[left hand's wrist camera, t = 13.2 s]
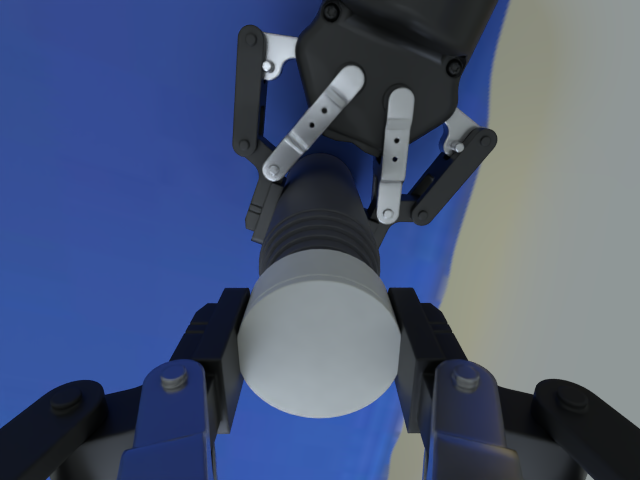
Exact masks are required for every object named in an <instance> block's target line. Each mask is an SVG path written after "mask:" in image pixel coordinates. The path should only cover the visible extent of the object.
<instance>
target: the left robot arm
mask: <svg viewBox="0 0 640 480" xmlns="http://www.w3.org/2000/svg"><path fill="white" fill-rule="evenodd" d="M388 296H389V299H390V302H391V305H392V308H393V311H394V314H395V317H396V320H397V323H398V326H399V329H400V332H401V340H400V351H399V362H398V372H397V375H396V377H395V379H394V380H395V384H396V388H397V392H398V396H399V400H400V404H401V408H402V412H403V416H404V420H405V424H406V428H407V432H408V433H421V437H422V440H423V444H424V447H425V451H424V461H423V475H422V480H585V479H586V476H587V474H589V475H590V476H591V477H592V478H593V479H594V480H640V429H639V428H638V427H637V426H635V425H634V424H633V423H632V422H630V421H629V420H628V419H626V418H625V417H624V416H622V415H621V414H620V413H619V412H617V411H616V410H615V409H613V408H612V407H611V406H609V405H608V404H607V403H605V402H604V401H603V400H602V399H600V398H599V397H598V396H596V395H595V394H594V393H592V392H591V391H589V390H588V389H586V388H584V387H582V386H580V385H578V384H575V383H572V382H569V381H566V380H560V379H547V380H543V381H541V382H539V383H538V384H537V385H536V388H535V391H534V395H532V394H528V393H524V392H520V391H515V390H511V389H507V388H503V387H500V386H497V382H496V380H495V378H494V376H493V375H492V374H491V373H490V372H489V371H488V370H487V369H485V368H484V367H482V366H480V365H478V364H476V363H474V362H471V361H468V359H467V358H466V356H465V354H464V352H463V350H462V348H461V346H460V345H459V343H458V341H457V339H456V337H455V335H454V334H453V333H452V330H451V328H450V326H449V325H448V324H447V321H446V319H445V317H444V315H443V313H442V312H441V311H440V310H439V309H437V308H436V307H435V306H433V305H432V304H431V303H420V301H419V299H418V297H417V295H416V293H415V291H414V289H413V288H389V290H388ZM249 298H250V290H249V288H225V289H224V291H223V293H222V295H221V297H220V299H219V301H218V303H207V304H206V305H205V306H204V307H202V308H201V309H200V310H198V311H197V312H196V313H195V315H194V317H193V319H192V321H191V322H190V325H189V326H188V328H187V330H186V333H185V334H184V335H183V337H182V339H181V340H180V342H179V344H178V346H177V348H176V350H175V351H174V353H173V355H172V357H171V359H170V360H169V362H166V363H164V364H162V365H160V366H158V367H156V368H155V369H153V370H152V371H151V372H150V373H149V374H148V375H147V376H146V378H145V379H144V382H143V385H141V386H139V387H136V388H133V389H129V390H124V391H120V392H116V393H111V394H107V395H105V394H104V390H103V387H102V386H101V384H99V383H98V382H95V381H91V380H79V381H74V382H70V383H66V384H64V385H61V386H59V387H57V388H55V389H53V390H51V391H49V392H48V393H46V394H45V395H44V396H42V397H41V398H40V399H38V400H37V401H36V402H34V403H33V404H32V405H31V406H29V407H28V408H27V409H25V410H24V411H23V412H21V413H20V414H19V415H18V416H16V417H15V418H14V419H12V420H11V421H10V422H8V423H7V424H6V425H5V426H3V427H2V428H1V429H0V480H46V479H47V478H48V477H49V476H50V479H51V480H218V475H217V461H216V451H215V444H214V442H215V439H216V435H217V434H230V430H231V426H232V423H233V419H234V415H235V411H236V407H237V403H238V400H239V396H240V392H241V388H242V384H243V380H244V378H243V376H242V374H241V372H240V364H239V353H238V342H237V335H238V331H239V328H240V325H241V322H242V319H243V316H244V313H245V310H246V307H247V304H248V301H249Z"/></svg>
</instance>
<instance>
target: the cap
mask: <svg viewBox="0 0 640 480" xmlns="http://www.w3.org/2000/svg"><path fill="white" fill-rule="evenodd" d="M400 340H401V332H400V329H399V326H398V323H397V320H396V317H395V314H394V311H393V308H392V305H391V302H390V299H389V296H388V293H387V290H386V288H385V286H384V284H383V282H382V281H381V279H380V278H379V276H378V275H377V274H376V273H375V272H374V271H373V270H372V269H371V268H370V267H369V266H368V265H367V264H365V263H364V262H362V261H361V260H359V259H357V258H355V257H353V256H351V255H349V254H346V253H343V252H340V251H334V250H327V249H310V250H305V251H300V252H296V253H293V254H290V255H288V256H286V257H284V258H282V259H280V260H278V261H277V262H275V263H274V264H272V265H271V266H270V267H269V268H267V269H266V271H265V272H264V273H263V274H262V275H261V276H260V278H259V279H258V280H257V282H256V284H255V286H254V288H253V290H252V292H251V295H250V298H249V301H248V304H247V307H246V310H245V313H244V316H243V319H242V322H241V325H240V328H239V331H238V335H237V342H238V353H239V364H240V372H241V374H242V376H243V378H244V380H245V381H246V383H247V384H248V385H249V387H250V388H251V389H252V390H253V391H254V392H255V393H256V394H257V395H258V396H259V397H260V398H261V399H262V400H264V401H265V402H267V403H268V404H270V405H271V406H273V407H275V408H277V409H279V410H281V411H284V412H287V413H289V414H293V415H297V416H302V417H309V418H330V417H337V416H342V415H346V414H349V413H352V412H355V411H357V410H360V409H362V408H364V407H366V406H367V405H369V404H371V403H372V402H374V401H375V400H376V399H377V398H379V397H380V396H381V395H382V394H383V393H384V392H385V391H386V390H387V389H388V388H389V386H390V385H391V384H392V382H393V381H394V379H395V377H396V375H397V372H398V362H399V351H400Z"/></svg>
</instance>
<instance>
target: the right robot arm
mask: <svg viewBox="0 0 640 480" xmlns="http://www.w3.org/2000/svg"><path fill="white" fill-rule="evenodd" d="M497 2H498V0H322V3H321V6H320V9H319V11H318V13H317V15H316V17H315V19H314V20H313V21H312V23H311V24H310V25H309V26H308V27H307V28H306V29H305V30H303V32H302V33H301V34H300V35H299V37H291V36H285V35H278V34H272V33H265V32H262V31H261V30H260V29H259V28H258V27H256V26H254V25H246V26H244V27H243V28H242V29H241V30H240V32H239V34H238V45H237V65H236V84H235V103H234V123H233V142H232V145H233V149H234V151H235V152H236V153H237V154H238V155H240V156H242V157H245V158H247V159H248V160H249V161H250V162H251V163H253V164H254V165H255V167H256V168H257V170H258V172H259V180H258V183H257V186H256V189H255V192H254V195H253V198H252V201H251V204H250V207H249V210H248V212H247V215H246V218H245V223H246V229H249V230H252V231H254V233H253V236H252V239H251V241H253V242H256V243H259V244H263V242H264V239H265V236H266V233H267V231H268V228H269V225H270V222H271V220H272V217H273V214H274V211H275V209H276V206H277V203H278V201H279V199H280V196H281V193H282V191H283V188H284V185H285V182H286V180H287V178H286V177H284V176H285V174H286V173H287V172H288V171H289V170H290V169H291V167H292V166H293V165H294V164H295V163H296V162H297V161H298V159H299V158H300V157H301V156H302V155H303V154H304V153H305V152H306V151H307V150H308V149H309V148H310V147H311V145H312V144H313V143H314V142H315V141H316V140H317V139H318V137H319V136H320V135H321V134H322V135H324V136H326V137H328V138H331V139H333V140H336V141H343V142H351V143H353V144H355V145H356V146H357V147H359V148H360V149H361V150H363V151H364V152H365V153H368V154H370V155H373V184H372V197H371V204H370V206H369V208H368V209H366V208H364V211H365V213H366V216H367V219H368V222H369V225H370V227H371V230H372V233H373V236H374V239H375V241H376V244H377V247H378V249H379V247H380V245H381V243H382V241H383V239H384V237H385V235H386V233H387V230H388V229H389V227H390V226H391V225H393V224H394V223H397V222H414V223H415V224H417V225H420V226H423V225H427V224H429V223H430V222H431V221H432V220H433V219H434V217H435V216H436V215H437V214H438V213H439V212H440V210H441V209H442V208H443V207H444V206H445V205H446V203H447V202H448V201H449V200H450V199H451V198H452V196H453V195H454V194H455V193H456V192H457V191H458V189H459V188H460V187H461V186H462V185H463V184H464V182H465V181H466V180H467V179H468V178H469V177H470V175H471V174H472V173H473V172H474V171H475V170H476V168H477V167H478V166H479V165H480V164H481V163H482V161H483V160H484V159H485V158H486V157H487V156H488V154H489V153H490V152H491V151H492V150H493V149H494V147H495V146H496V143H497V135H496V133H495V132H494V131H493V130H491V129H487V128H485V127H482V126H479V125H478V124H476V123H475V122H474V121H473V120H471V119H470V118H469V117H468V116H467V115H465V114H464V113H463V112H462V111H460V110H459V109H458V108H457V104H458V86H459V81H460V78H461V75H462V73H463V71H464V69H465V67H466V65H467V64H468V62H469V60H470V58H471V56H472V53H473V51H474V49H475V47H476V45H477V43H478V41H479V39H480V37H481V35H482V33H483V31H484V29H485V27H486V25H487V23H488V21H489V18H490V16H491V14H492V12H493V10H494V8H495V6H496V4H497ZM293 59H296V61H297V65H298V69H299V73H300V77H301V81H302V85H303V89H304V93H305V97H306V101H307V105H308V109H307V111H306V112H305V113H304V114H303V115H302V117H301V118H300V119H299V120H298V121H297V123H296V124H295V125H294V126H293V128H292V129H291V130H290V131H289V132H288V134H287V135H286V136H285V137H284V138H283V140H282V141H281V142H280V143H279V145H278V146H277V147H275V146H274V145H273V144H271V143H270V142H269V141H268V140H267V139H266V138H265V137H263V133H264V120H265V108H266V96H267V83H268V80H276V79H278V78H279V77H280V75H281V74H282V70H283V67H284V65H285V64H286V63H287V62H288V61H290V60H293ZM441 124H442V125H443V129H444V130H443V135H442V137H441V138H440V140H439V149H440V151H441V153H440V154H439V156H438V157H437V158H436V159H435V161H434V162H433V163H432V164H431V166H430V167H429V168H428V169H427V170H426V172H425V173H424V174H423V175H422V177H421V178H420V179H419V180H418V182H417V183H416V184H415V185H414V187H413V188H412V189H411V190H410V191H409V193H408V194H401V191H402V184H403V182H404V180H405V174H406V164H407V155H408V146H409V144H411V143H412V142H414V141H415V140H417V139H419V138H420V137H422V136H424V135H425V134H427V133H428V132H430V131H432V130H433V129H435V128H436V127H438V126H440V125H441Z"/></svg>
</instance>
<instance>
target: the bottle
mask: <svg viewBox="0 0 640 480" xmlns="http://www.w3.org/2000/svg"><path fill="white" fill-rule="evenodd" d="M310 249H327V250H334V251H340V252H343V253H346V254H349V255H351V256H353V257H355V258H357V259H359V260H361V261H362V262H364V263H365V264H367V265H368V266H369V267H370V268H371V269H372V270H373V271H374V272H375V273H376V274H377V275H378V276H379V277H380V256H379V250H378V247H377V244H376V241H375V239H374V236H373V233H372V230H371V227H370V225H369V222H368V219H367V216H366V213H365V211H364V208H363V205H362V202H361V199H360V197H359V194H358V191H357V188H356V185H355V183H354V180H353V177H352V174H351V172H350V170H349V169H348V167H347V166H346V165H345V164H344V163H343V162H342V161H341V160H340V159H338V158H337V157H335V156H332V155H329V154H325V153H315V154H310V155H307V156H305V157H303V158H301V159H300V160H298V161H297V162H296V163H295V164H294V165H293V166H292V168H291V169H290V171H289V173H288V176H287V180H286V182H285V185H284V188H283V191H282V193H281V196H280V199H279V201H278V203H277V206H276V209H275V211H274V214H273V217H272V220H271V222H270V225H269V228H268V231H267V233H266V236H265V239H264V242H263V244H262V248H261V251H260V257H259V276H261V275H262V274H263V273H264V272H265V271H266V269H267V268H269V267H270V266H271V265H272V264H274V263H275V262H277V261H278V260H280V259H282V258H284V257H286V256H288V255H290V254H293V253H296V252H300V251H305V250H310Z"/></svg>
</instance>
